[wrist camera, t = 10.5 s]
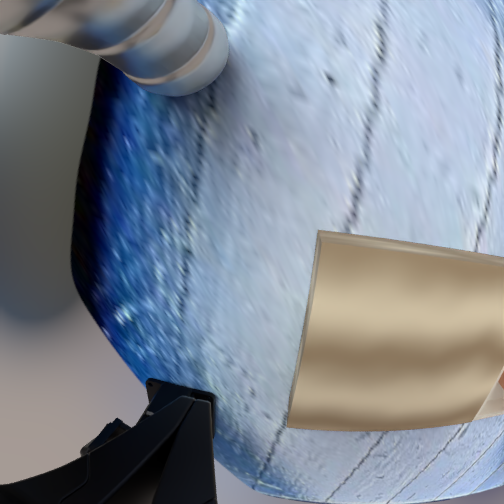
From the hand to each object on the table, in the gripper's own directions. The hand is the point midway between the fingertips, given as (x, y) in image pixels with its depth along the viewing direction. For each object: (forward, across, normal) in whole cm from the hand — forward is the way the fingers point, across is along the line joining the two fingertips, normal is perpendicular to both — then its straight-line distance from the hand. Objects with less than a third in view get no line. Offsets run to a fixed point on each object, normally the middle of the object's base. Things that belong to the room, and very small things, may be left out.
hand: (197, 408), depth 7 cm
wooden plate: (+13, -12, +4) cm, 18 cm away
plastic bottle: (+13, +6, -14) cm, 20 cm away
